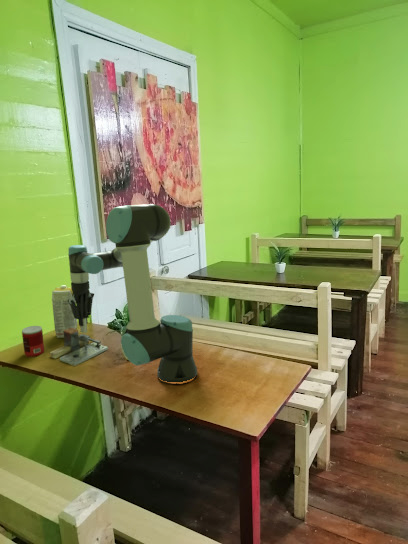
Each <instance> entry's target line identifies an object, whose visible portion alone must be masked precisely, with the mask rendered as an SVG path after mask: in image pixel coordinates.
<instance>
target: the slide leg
mask: <svg viewBox="0 0 408 544" xmlns="http://www.w3.org/2000/svg"><path fill="white" fill-rule="evenodd" d="M63 333H64V338H63V342H64V346H66V345H68V346H70V347H71V352H73V351H75V350H78V349H80V348H81V347H80V344H79V339H80V340H83V341H85V345H84V346H85V351H87V345H88V344H87V341H89V339H88V338H85V337H81V336H79V329H78V328H77V329H74V328H69V329H66V330H64V331H63ZM89 342H90V341H89ZM64 346H63V347H64Z"/></svg>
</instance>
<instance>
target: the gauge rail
mask: <svg viewBox="0 0 408 544" xmlns="http://www.w3.org/2000/svg"><path fill="white" fill-rule="evenodd" d="M78 336H81V337H85V338H88V339H89V341H87V345H88V344H90V342H92V343H93V342H94V343H97V346H99V344H100V345H101V344H102V341H100V340H98V339H95V338H94V339H93V338H91V336H90V335H87V334H85V333H81V334H78ZM79 344H80V348H82V347H84V346H85V341H83V340H80V339H79ZM71 352H72V351H71V347H70V346H68V345H66V346H62V347H59V348H57V349H55V350H52V351H50V352H49V354H50V355H49V356H50V358H52V359H57V358H60V357H62V356H64V355H67V354H69V353H71Z"/></svg>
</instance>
